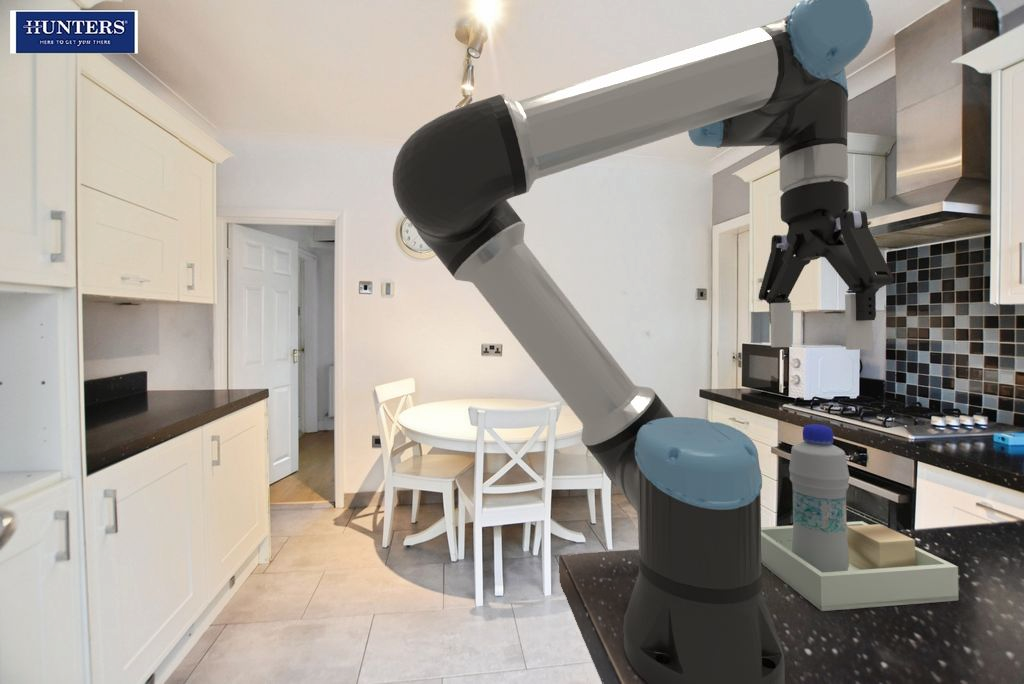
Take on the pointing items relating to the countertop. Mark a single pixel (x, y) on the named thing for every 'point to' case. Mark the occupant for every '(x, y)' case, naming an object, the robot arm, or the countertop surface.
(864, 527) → the cube
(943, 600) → the tote
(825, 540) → the bottle
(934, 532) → the countertop surface
